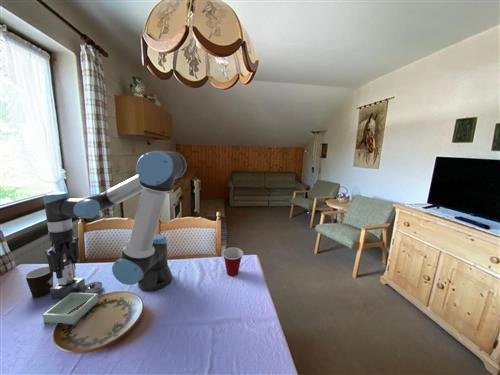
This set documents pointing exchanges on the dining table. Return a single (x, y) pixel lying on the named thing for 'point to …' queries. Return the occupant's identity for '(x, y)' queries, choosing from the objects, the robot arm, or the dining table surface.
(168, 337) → the dining table surface
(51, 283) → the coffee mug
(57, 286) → the block
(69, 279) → the clear bottle
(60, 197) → the robot arm
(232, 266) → the plastic cup
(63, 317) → the tray
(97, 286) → the pulley wheel
